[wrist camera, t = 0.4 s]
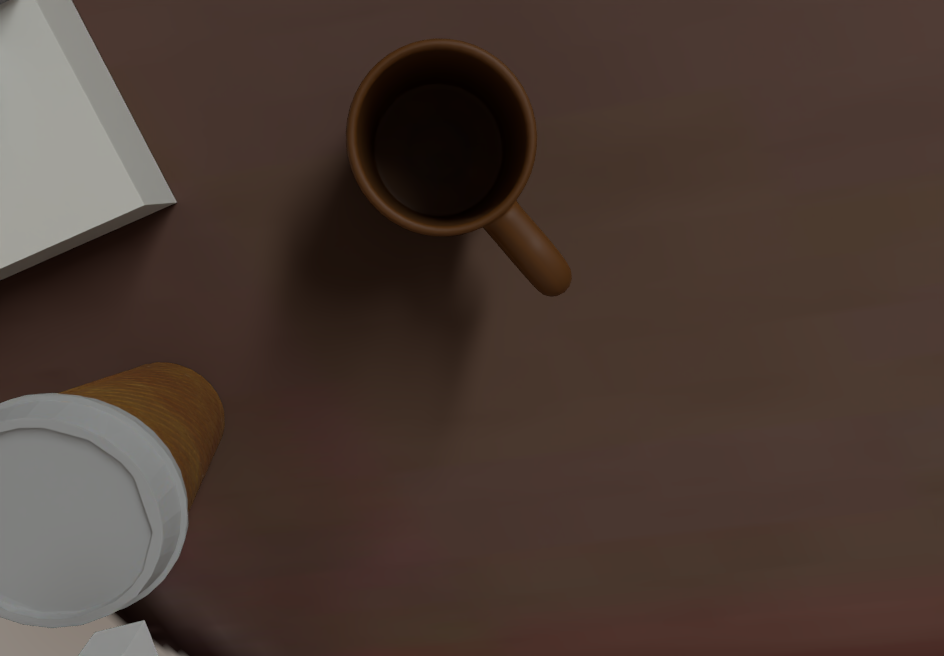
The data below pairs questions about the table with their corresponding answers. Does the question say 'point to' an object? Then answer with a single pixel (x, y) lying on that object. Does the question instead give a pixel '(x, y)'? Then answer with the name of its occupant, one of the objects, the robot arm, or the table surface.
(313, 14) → the table surface
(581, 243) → the table surface
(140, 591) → the disposable coffee cup
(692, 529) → the table surface
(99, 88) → the dial housing
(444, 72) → the mug
